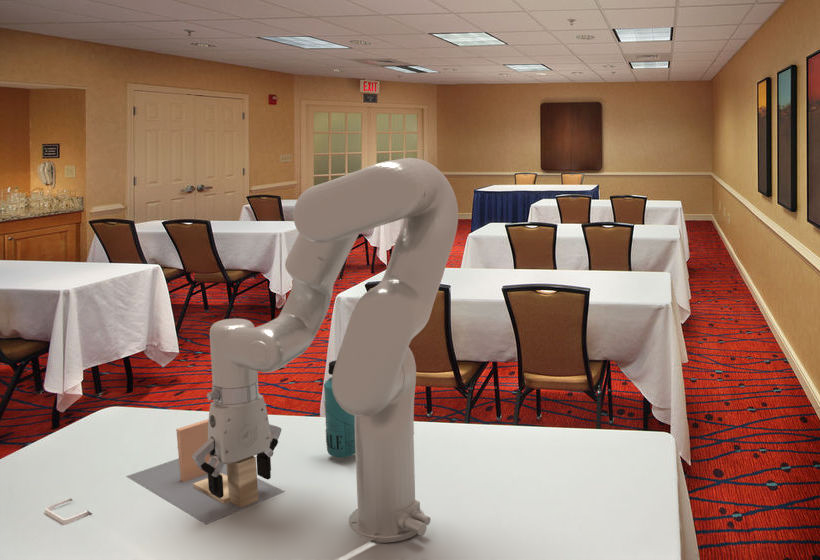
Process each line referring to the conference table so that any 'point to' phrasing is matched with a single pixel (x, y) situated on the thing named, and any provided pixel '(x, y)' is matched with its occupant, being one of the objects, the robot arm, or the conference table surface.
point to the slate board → (193, 492)
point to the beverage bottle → (338, 423)
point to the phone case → (62, 520)
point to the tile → (191, 448)
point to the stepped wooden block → (236, 483)
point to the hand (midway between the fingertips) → (241, 485)
